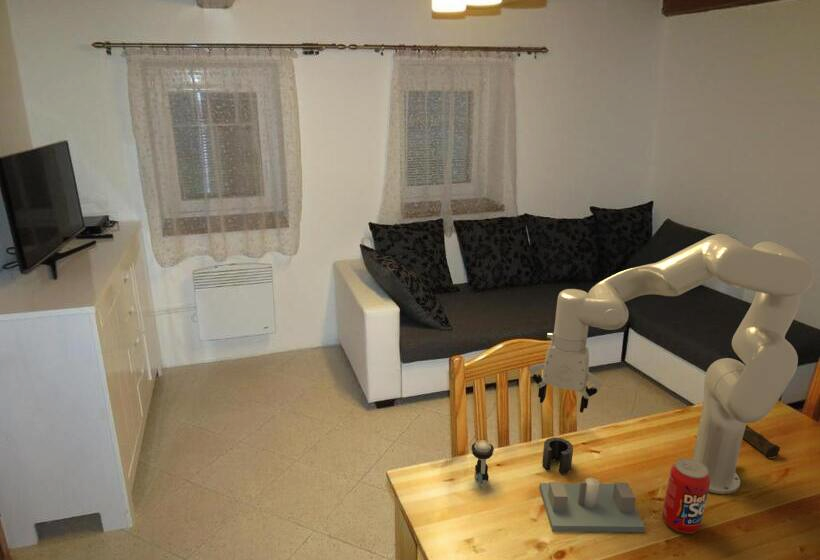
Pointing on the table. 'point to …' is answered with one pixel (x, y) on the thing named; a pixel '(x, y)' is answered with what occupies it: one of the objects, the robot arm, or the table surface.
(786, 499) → the table surface
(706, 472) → the soda can
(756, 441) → the dark brown bar
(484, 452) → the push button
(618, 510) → the shaft stand
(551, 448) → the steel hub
